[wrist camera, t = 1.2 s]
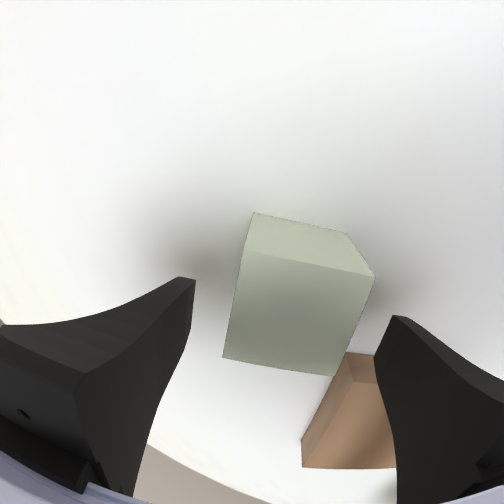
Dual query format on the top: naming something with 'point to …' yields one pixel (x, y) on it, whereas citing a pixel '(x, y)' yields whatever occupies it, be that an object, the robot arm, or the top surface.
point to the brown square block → (350, 422)
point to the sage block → (296, 297)
